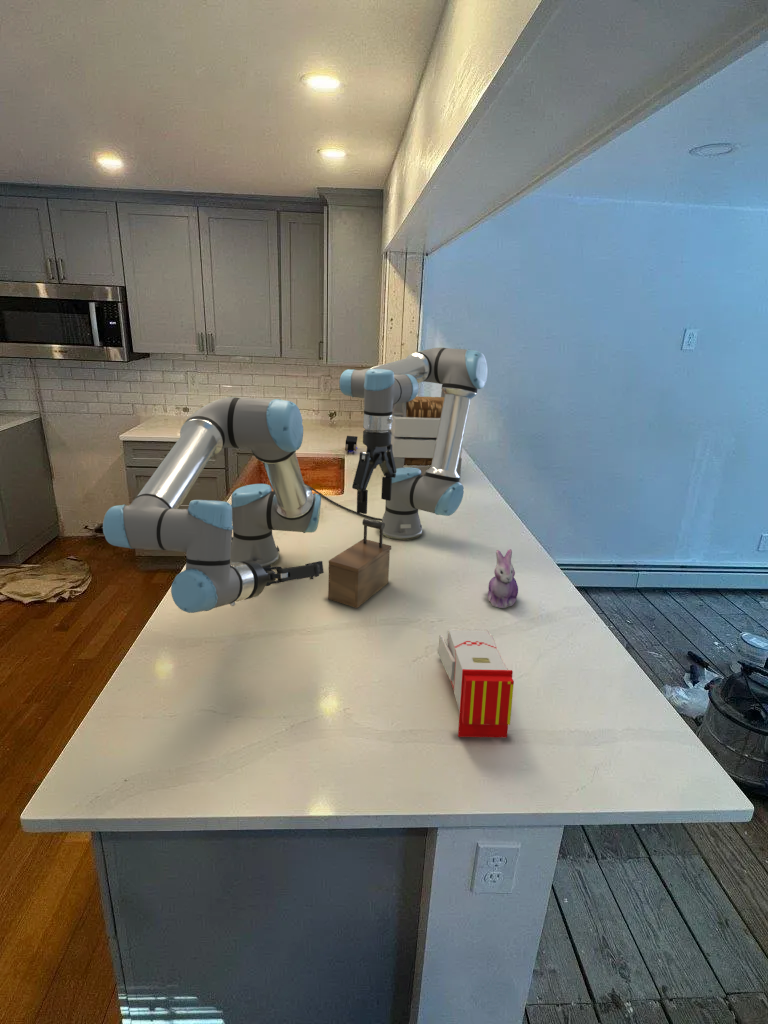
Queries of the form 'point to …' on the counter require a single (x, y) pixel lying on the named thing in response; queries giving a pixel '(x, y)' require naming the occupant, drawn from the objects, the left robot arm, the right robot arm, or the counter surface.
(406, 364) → the right robot arm
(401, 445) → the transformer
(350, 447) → the figurine character
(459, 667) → the toy
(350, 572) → the chest
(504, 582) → the figurine
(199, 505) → the left robot arm
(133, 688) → the counter surface
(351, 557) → the brown handled panel
